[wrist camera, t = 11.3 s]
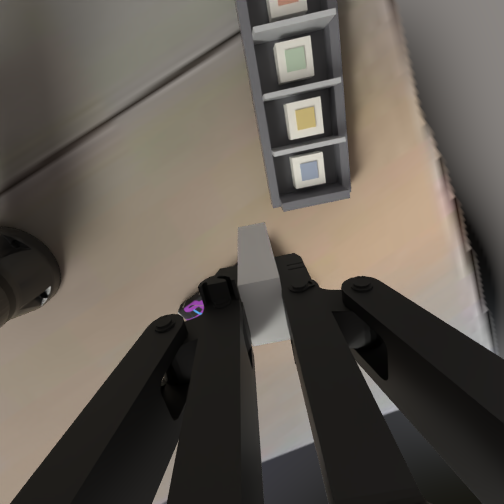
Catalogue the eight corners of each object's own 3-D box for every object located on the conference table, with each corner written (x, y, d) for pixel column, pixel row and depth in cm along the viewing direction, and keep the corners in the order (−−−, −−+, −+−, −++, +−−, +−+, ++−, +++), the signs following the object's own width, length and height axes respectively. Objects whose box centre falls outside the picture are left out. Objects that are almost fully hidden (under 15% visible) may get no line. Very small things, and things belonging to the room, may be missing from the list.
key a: (278, 85, 41) (281, 82, 39) (273, 48, 40) (275, 42, 37) (310, 78, 41) (314, 75, 39) (306, 40, 40) (310, 34, 37)
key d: (288, 139, 42) (291, 140, 40) (283, 105, 41) (286, 103, 38) (319, 132, 42) (324, 132, 40) (315, 97, 41) (320, 96, 38)
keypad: (271, 203, 49) (275, 213, 43) (229, -30, 37) (227, -58, 32) (344, 188, 48) (358, 196, 43) (325, -54, 37) (340, -85, 31)
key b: (293, 185, 47) (296, 189, 44) (289, 156, 45) (292, 158, 43) (321, 180, 47) (326, 183, 44) (318, 150, 45) (322, 152, 42)
